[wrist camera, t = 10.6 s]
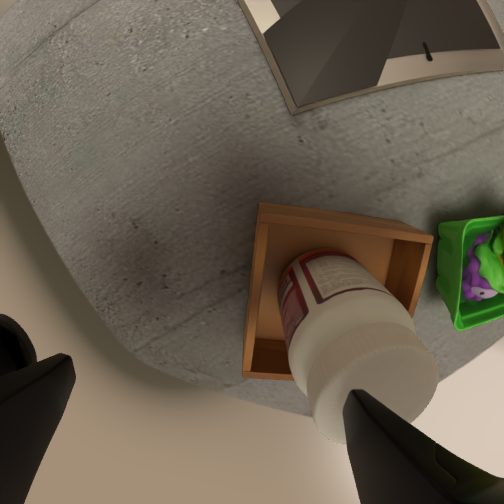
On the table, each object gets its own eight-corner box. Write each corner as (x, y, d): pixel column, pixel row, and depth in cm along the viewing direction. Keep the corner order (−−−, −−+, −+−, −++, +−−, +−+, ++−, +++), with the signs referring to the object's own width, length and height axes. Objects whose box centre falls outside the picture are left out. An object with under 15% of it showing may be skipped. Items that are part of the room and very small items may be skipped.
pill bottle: (311, 343, 22) (347, 469, 11) (257, 284, 20) (262, 407, 9) (379, 292, 21) (464, 392, 10) (332, 225, 19) (419, 298, 8)
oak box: (369, 346, 22) (389, 380, 18) (243, 339, 22) (241, 377, 18) (401, 221, 20) (434, 236, 15) (258, 201, 19) (260, 212, 15)
